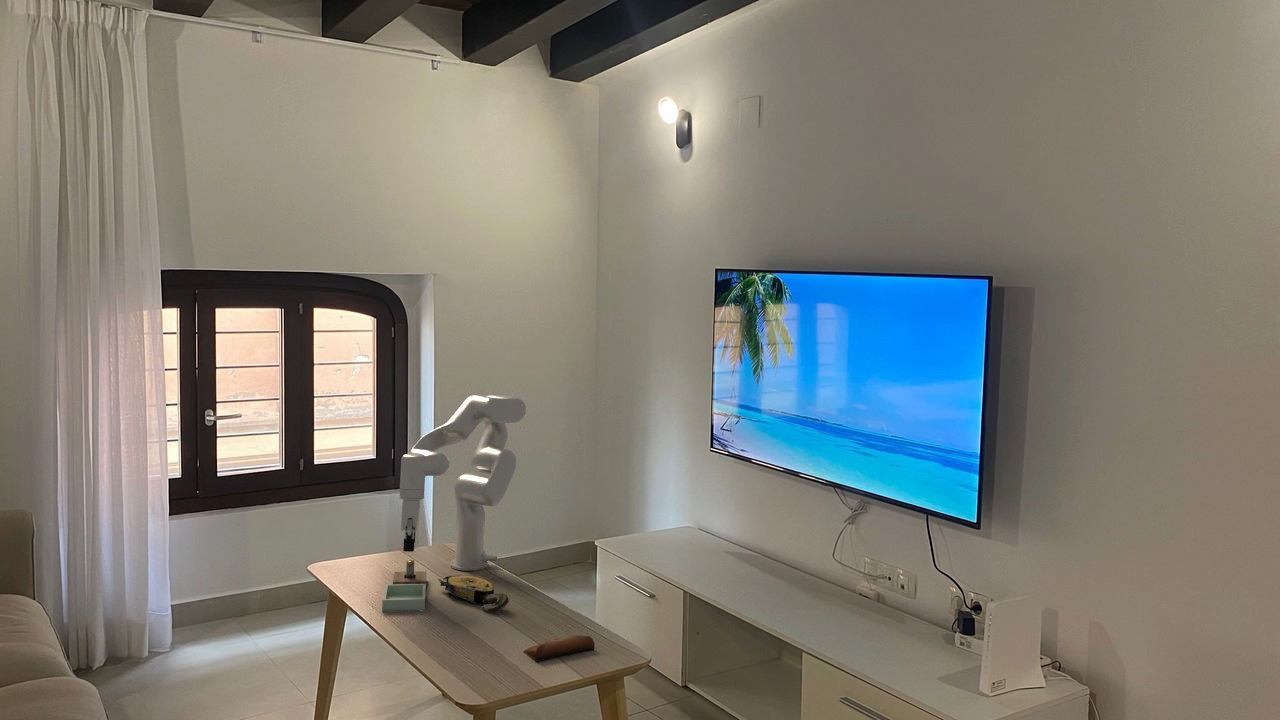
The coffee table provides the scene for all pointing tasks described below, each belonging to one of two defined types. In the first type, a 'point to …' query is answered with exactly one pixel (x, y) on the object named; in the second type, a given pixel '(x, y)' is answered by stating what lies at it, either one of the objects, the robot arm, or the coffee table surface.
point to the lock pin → (410, 569)
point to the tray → (404, 597)
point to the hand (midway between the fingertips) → (409, 547)
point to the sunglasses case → (559, 647)
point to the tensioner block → (418, 578)
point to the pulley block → (475, 592)
